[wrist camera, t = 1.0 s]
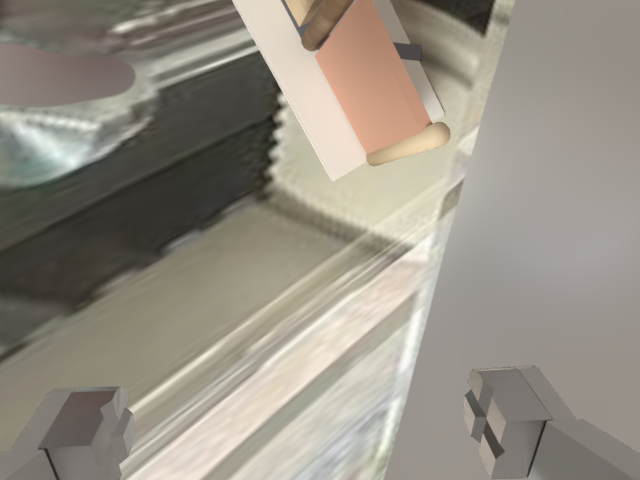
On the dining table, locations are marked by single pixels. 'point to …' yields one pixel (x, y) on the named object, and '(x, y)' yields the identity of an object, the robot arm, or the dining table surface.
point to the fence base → (317, 18)
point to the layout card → (324, 78)
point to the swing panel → (377, 89)
